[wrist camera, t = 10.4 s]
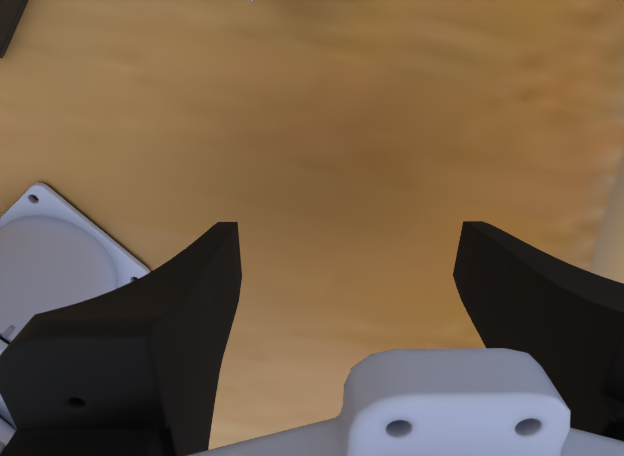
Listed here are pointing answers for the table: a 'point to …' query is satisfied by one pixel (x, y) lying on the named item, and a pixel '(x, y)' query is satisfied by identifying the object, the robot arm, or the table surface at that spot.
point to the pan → (9, 20)
